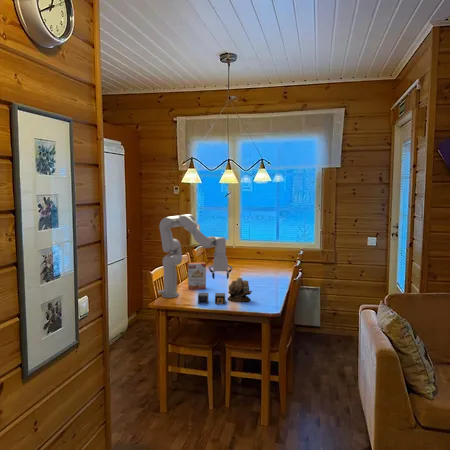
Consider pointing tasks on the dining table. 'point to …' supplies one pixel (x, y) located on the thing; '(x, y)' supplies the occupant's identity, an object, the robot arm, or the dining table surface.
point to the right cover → (219, 296)
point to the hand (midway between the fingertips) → (220, 278)
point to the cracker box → (197, 275)
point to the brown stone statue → (239, 291)
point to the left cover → (203, 297)
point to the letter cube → (219, 300)
